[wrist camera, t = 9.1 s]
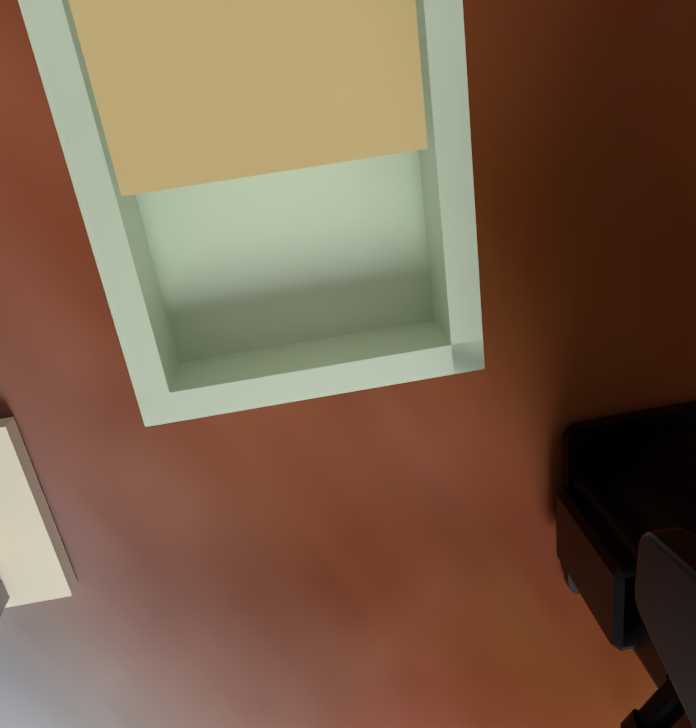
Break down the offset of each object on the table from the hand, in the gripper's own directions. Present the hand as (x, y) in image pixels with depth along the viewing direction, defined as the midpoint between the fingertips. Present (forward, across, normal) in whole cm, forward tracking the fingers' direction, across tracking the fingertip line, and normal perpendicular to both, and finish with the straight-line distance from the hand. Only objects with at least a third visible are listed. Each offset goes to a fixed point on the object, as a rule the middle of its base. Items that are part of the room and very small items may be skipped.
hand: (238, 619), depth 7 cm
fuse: (+11, -1, -6) cm, 13 cm away
